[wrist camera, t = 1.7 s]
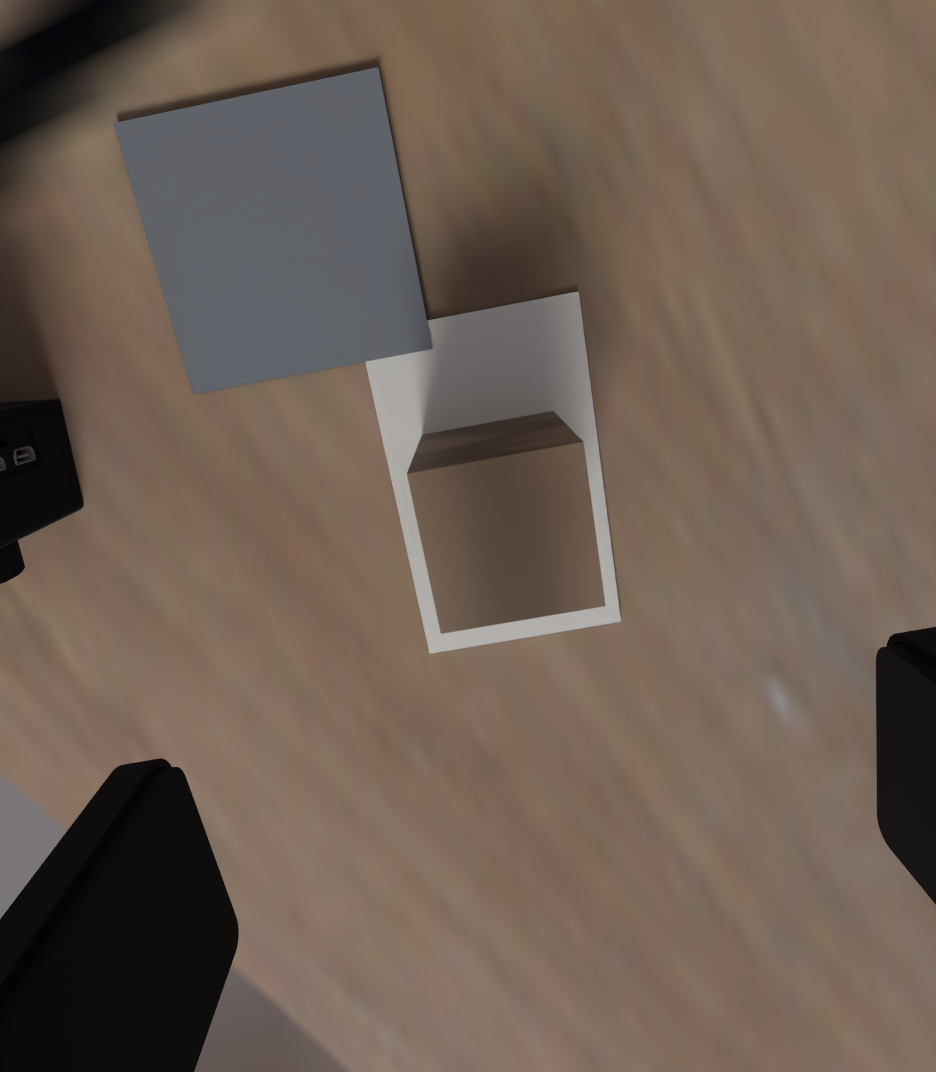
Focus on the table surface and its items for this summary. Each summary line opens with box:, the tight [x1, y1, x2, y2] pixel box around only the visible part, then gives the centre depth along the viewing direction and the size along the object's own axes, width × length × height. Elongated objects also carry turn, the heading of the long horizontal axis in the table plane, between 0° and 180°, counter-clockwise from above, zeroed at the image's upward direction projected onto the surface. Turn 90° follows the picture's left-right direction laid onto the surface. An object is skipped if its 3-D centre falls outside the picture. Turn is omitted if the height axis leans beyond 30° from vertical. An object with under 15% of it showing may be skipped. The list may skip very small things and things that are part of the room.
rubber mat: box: [113, 67, 432, 394], centre depth 24 cm, size 9×9×1 cm
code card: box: [366, 291, 621, 653], centre depth 27 cm, size 8×13×1 cm, turn 10°
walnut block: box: [407, 411, 606, 634], centre depth 23 cm, size 5×5×7 cm
